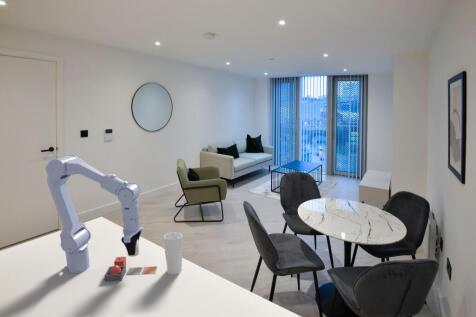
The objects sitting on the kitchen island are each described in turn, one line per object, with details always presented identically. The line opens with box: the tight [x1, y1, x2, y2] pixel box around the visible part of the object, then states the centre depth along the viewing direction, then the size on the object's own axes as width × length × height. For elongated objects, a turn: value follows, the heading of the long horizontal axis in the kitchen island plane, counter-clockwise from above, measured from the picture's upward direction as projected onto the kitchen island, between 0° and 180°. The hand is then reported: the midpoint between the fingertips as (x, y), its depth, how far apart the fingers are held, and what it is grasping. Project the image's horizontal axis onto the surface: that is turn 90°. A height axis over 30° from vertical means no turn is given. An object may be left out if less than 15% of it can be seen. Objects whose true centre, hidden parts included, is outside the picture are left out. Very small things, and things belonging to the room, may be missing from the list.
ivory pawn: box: [127, 239, 140, 258], centre depth 110 cm, size 4×4×5 cm
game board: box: [125, 265, 158, 276], centre depth 112 cm, size 17×12×1 cm
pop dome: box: [110, 265, 121, 274], centre depth 108 cm, size 4×4×3 cm
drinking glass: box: [163, 231, 184, 276], centre depth 112 cm, size 7×7×15 cm
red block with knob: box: [113, 256, 127, 267], centre depth 115 cm, size 3×3×4 cm
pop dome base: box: [104, 265, 127, 282], centre depth 109 cm, size 6×6×2 cm
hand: (133, 251), depth 111 cm, fingers closed on ivory pawn, 4 cm apart
